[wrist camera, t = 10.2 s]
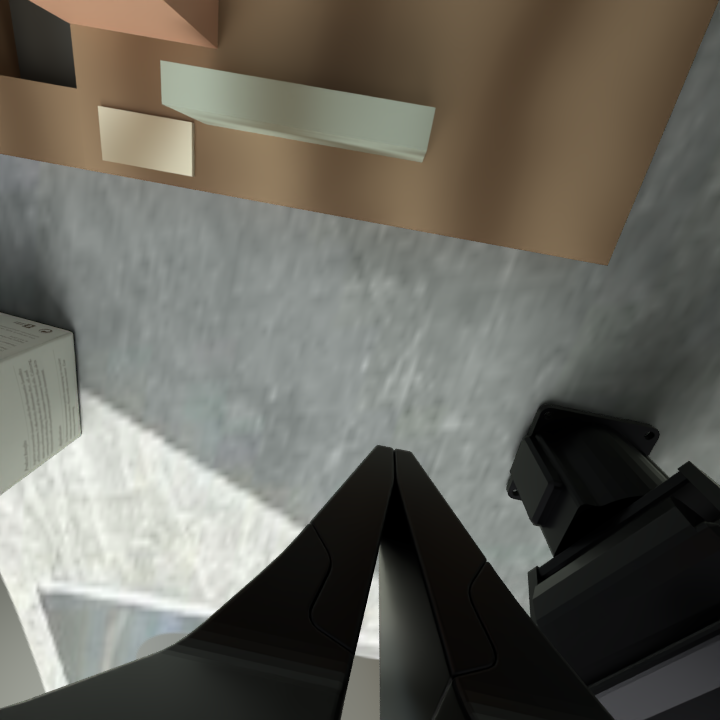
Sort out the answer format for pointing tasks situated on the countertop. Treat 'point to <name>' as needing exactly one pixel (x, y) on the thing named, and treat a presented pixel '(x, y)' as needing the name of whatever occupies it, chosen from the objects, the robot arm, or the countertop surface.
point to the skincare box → (35, 396)
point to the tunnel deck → (372, 109)
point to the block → (144, 17)
